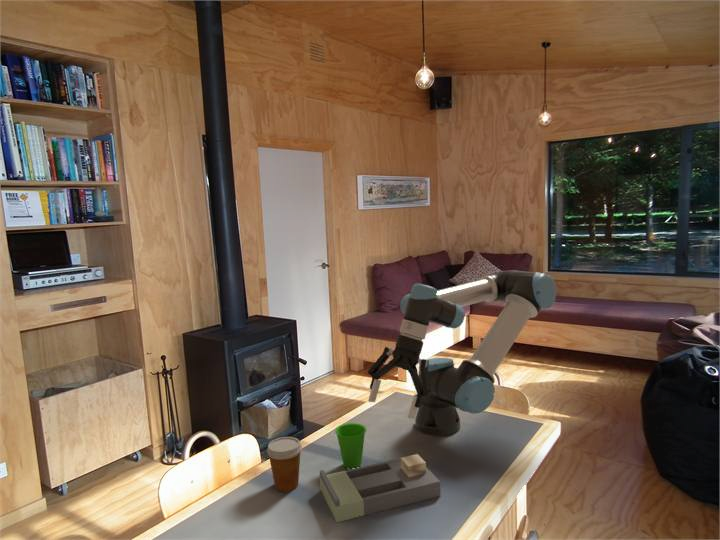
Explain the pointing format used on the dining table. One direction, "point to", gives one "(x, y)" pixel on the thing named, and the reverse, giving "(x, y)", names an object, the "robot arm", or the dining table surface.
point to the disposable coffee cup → (285, 462)
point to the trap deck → (375, 489)
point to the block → (413, 465)
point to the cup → (351, 443)
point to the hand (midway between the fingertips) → (390, 409)
